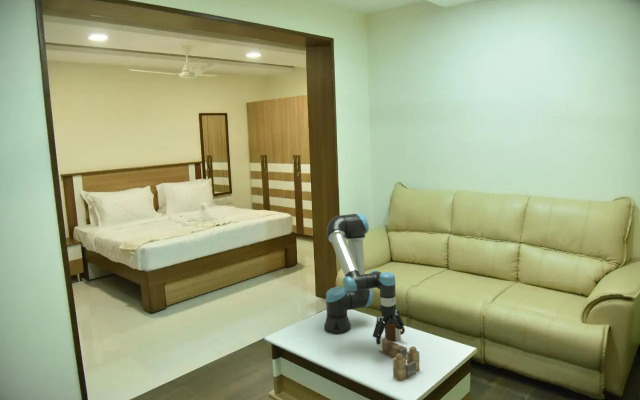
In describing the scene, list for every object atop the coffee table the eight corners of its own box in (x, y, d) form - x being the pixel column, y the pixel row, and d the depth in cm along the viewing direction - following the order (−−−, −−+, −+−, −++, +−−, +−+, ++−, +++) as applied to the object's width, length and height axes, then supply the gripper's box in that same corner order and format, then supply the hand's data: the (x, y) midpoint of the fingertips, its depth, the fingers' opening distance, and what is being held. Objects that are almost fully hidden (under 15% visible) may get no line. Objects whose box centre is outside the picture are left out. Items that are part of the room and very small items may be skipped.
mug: (409, 340, 234) (408, 323, 233) (400, 345, 229) (400, 328, 228) (390, 333, 243) (390, 317, 242) (382, 338, 238) (381, 321, 237)
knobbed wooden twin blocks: (393, 377, 199) (392, 353, 198) (412, 366, 208) (412, 343, 206) (402, 381, 195) (401, 357, 194) (421, 371, 204) (421, 347, 202)
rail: (378, 351, 223) (378, 340, 223) (384, 349, 226) (383, 338, 225) (401, 362, 212) (401, 350, 211) (406, 359, 215) (406, 348, 214)
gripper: (375, 313, 207) (377, 356, 209) (410, 299, 222) (411, 340, 225) (364, 309, 212) (366, 351, 215) (398, 296, 228) (399, 335, 230)
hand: (389, 345), depth 220 cm, fingers open, 13 cm apart
